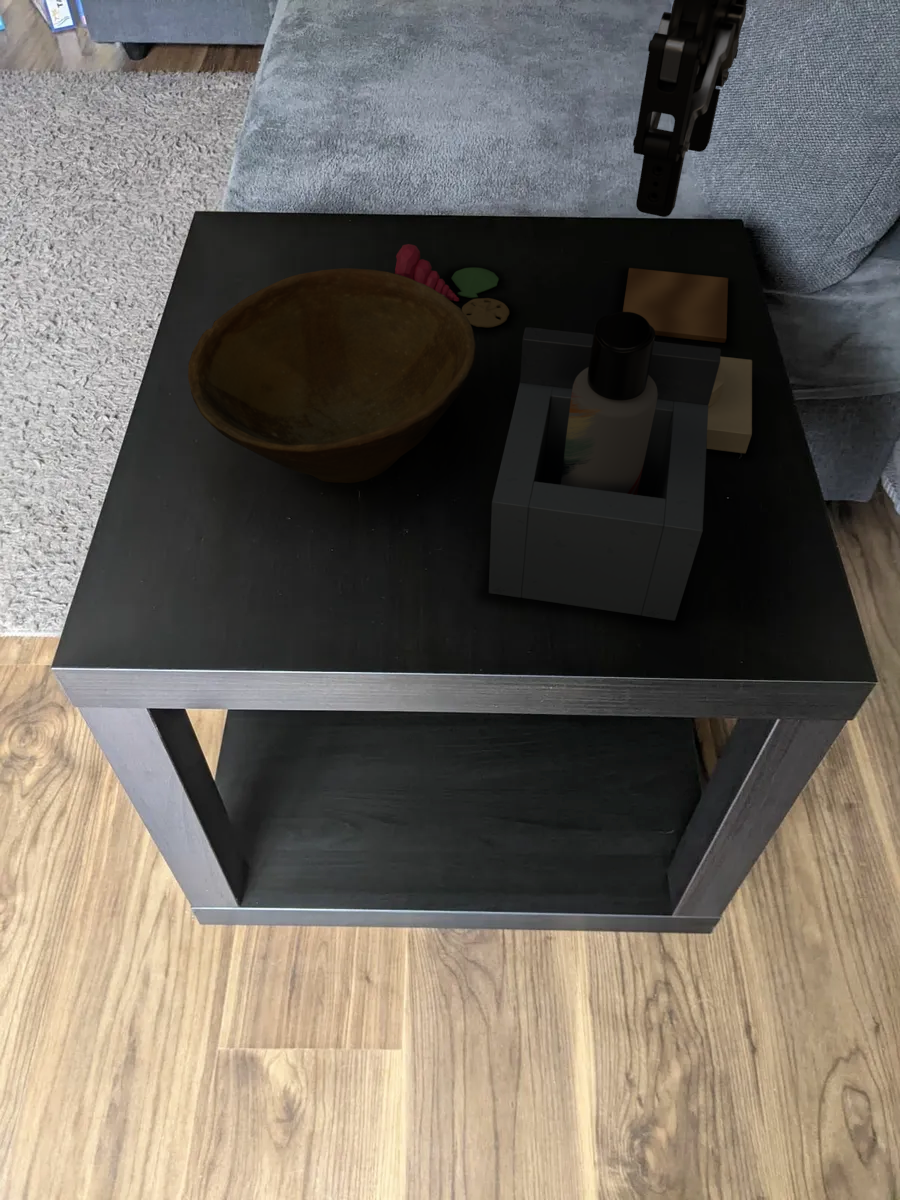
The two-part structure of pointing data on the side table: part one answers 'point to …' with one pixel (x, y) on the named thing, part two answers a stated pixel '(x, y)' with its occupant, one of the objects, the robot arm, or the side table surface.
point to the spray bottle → (612, 408)
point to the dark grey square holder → (595, 517)
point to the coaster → (679, 303)
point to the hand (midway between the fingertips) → (673, 178)
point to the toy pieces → (464, 279)
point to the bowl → (333, 370)
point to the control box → (731, 406)
